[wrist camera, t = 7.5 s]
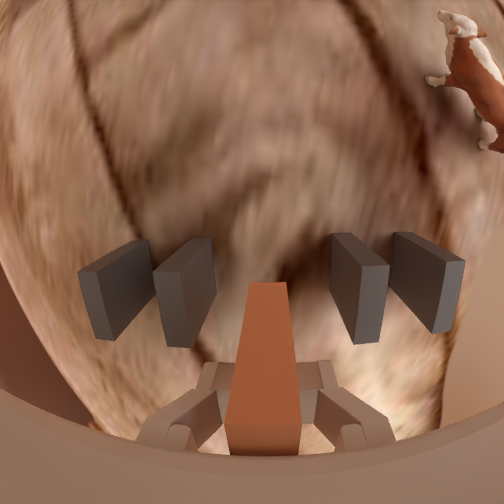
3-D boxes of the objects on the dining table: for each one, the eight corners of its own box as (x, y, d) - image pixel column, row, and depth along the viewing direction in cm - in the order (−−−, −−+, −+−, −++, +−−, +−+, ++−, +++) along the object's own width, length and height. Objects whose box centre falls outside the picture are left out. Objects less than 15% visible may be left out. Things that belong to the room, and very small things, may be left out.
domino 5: (410, 231, 21) (465, 260, 13) (405, 285, 22) (450, 330, 14) (394, 232, 21) (446, 261, 13) (389, 286, 22) (431, 334, 14)
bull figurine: (416, 30, 15) (460, -7, 8) (500, 141, 17) (556, 141, 9) (393, 50, 16) (437, 10, 9) (483, 167, 18) (543, 173, 11)
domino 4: (351, 232, 21) (389, 265, 13) (347, 289, 22) (378, 342, 15) (331, 233, 21) (362, 266, 14) (329, 290, 23) (353, 344, 15)
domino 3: (285, 282, 13) (302, 423, 5) (285, 365, 14) (290, 502, 6) (250, 282, 13) (223, 423, 5) (255, 366, 14) (241, 502, 6)
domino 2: (211, 237, 22) (179, 271, 14) (216, 293, 23) (192, 347, 16) (191, 237, 22) (152, 271, 14) (198, 293, 23) (167, 346, 16)
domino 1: (148, 240, 22) (96, 272, 15) (156, 292, 24) (114, 341, 16) (131, 240, 23) (77, 271, 15) (140, 292, 24) (95, 338, 16)
